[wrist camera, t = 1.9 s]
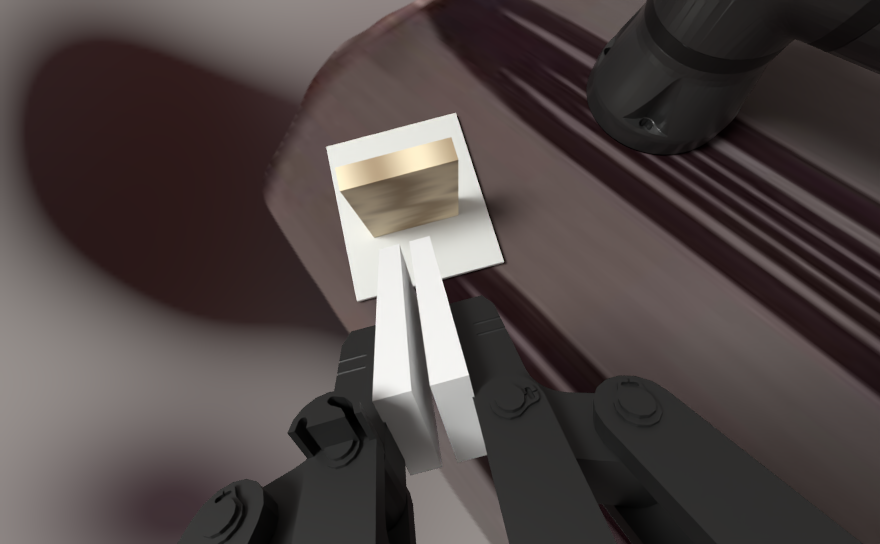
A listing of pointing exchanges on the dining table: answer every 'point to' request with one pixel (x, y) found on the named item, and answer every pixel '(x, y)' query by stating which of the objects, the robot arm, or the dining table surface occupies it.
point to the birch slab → (403, 187)
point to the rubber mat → (453, 239)
